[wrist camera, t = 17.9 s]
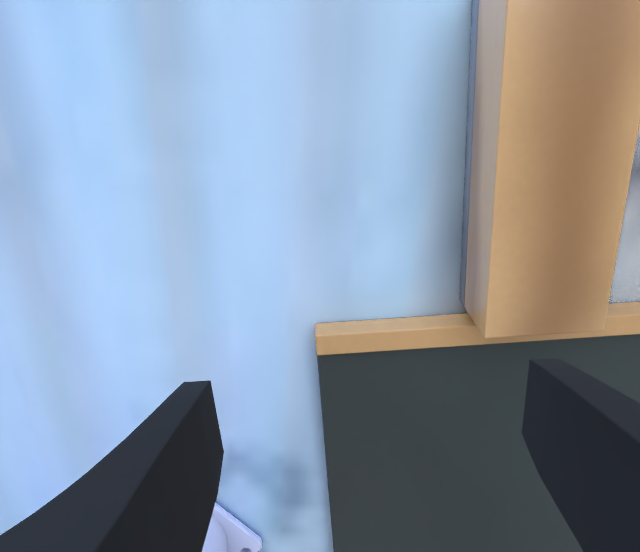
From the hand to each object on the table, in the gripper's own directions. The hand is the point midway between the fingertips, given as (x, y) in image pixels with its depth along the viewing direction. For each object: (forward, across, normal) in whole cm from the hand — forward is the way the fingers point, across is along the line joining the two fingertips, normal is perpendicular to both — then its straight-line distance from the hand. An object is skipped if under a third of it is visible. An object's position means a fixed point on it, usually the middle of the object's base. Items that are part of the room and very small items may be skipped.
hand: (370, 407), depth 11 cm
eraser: (+10, -7, -4) cm, 13 cm away
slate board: (+10, -8, +16) cm, 21 cm away
